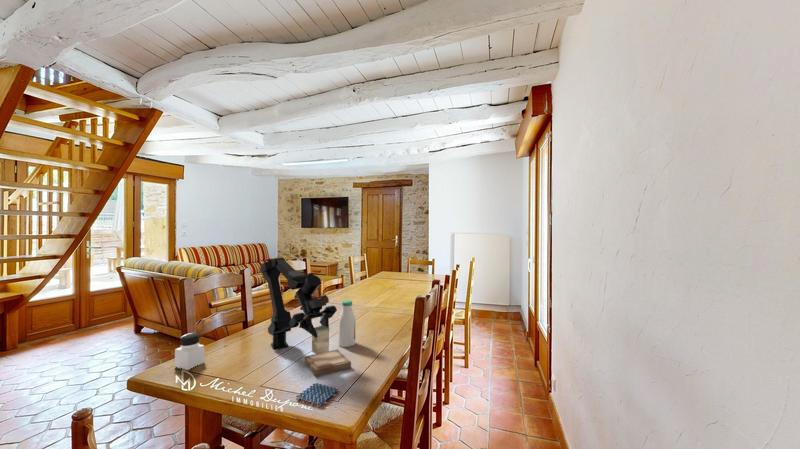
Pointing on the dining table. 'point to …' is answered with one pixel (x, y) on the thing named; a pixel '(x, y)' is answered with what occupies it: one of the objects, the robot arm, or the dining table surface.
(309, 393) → the woven mat
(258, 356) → the dining table surface
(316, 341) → the beech block
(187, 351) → the medicine bottle
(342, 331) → the milk bottle
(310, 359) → the base
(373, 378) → the dining table surface
